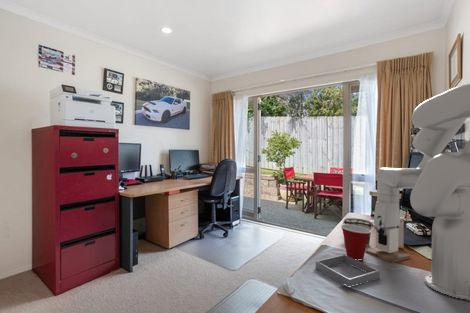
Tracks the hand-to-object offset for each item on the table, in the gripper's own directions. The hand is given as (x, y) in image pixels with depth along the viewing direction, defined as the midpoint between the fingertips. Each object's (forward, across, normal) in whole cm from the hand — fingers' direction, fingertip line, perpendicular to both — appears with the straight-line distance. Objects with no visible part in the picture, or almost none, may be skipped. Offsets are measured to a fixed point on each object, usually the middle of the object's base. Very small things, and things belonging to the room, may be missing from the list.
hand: (387, 242), depth 97 cm
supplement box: (+5, -14, -6) cm, 16 cm away
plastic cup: (+5, +14, -4) cm, 15 cm away
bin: (+5, +28, +4) cm, 29 cm away
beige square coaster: (+5, 0, 0) cm, 5 cm away
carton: (+3, 0, 0) cm, 3 cm away
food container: (+5, -3, -16) cm, 17 cm away
